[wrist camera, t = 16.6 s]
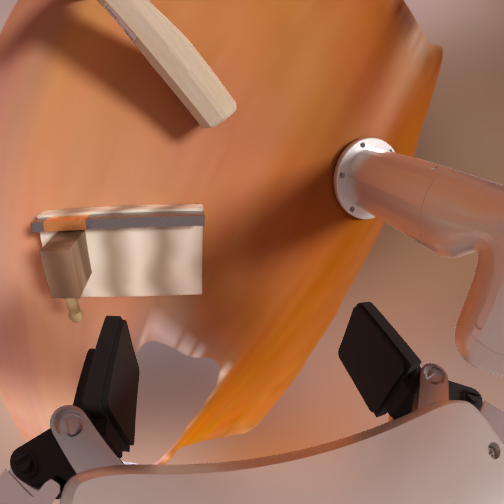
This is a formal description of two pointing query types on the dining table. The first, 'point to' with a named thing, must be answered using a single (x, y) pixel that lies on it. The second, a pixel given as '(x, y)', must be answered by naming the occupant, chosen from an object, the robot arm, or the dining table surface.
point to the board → (140, 254)
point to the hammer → (174, 60)
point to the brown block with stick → (67, 268)
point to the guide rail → (119, 221)
